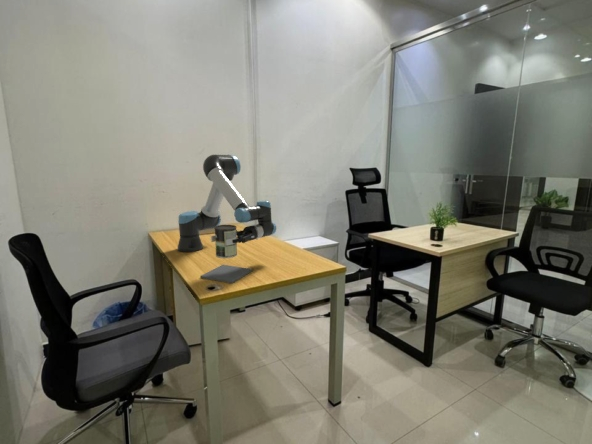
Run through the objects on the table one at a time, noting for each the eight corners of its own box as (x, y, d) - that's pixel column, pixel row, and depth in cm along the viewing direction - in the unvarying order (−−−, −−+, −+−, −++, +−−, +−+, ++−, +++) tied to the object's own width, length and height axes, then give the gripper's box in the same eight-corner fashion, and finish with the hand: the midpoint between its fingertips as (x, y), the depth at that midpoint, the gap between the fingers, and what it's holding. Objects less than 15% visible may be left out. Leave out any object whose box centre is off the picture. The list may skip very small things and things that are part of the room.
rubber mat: (200, 277, 149) (200, 275, 148) (223, 266, 165) (222, 264, 165) (232, 283, 142) (232, 281, 142) (252, 270, 158) (252, 269, 158)
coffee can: (214, 258, 146) (212, 229, 143) (217, 252, 156) (216, 224, 153) (236, 258, 147) (235, 228, 144) (238, 252, 157) (237, 224, 154)
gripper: (268, 242, 158) (235, 252, 141) (238, 236, 171) (204, 244, 154) (268, 228, 156) (234, 236, 139) (237, 223, 170) (203, 229, 153)
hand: (218, 240), depth 147 cm, fingers closed on coffee can, 10 cm apart
